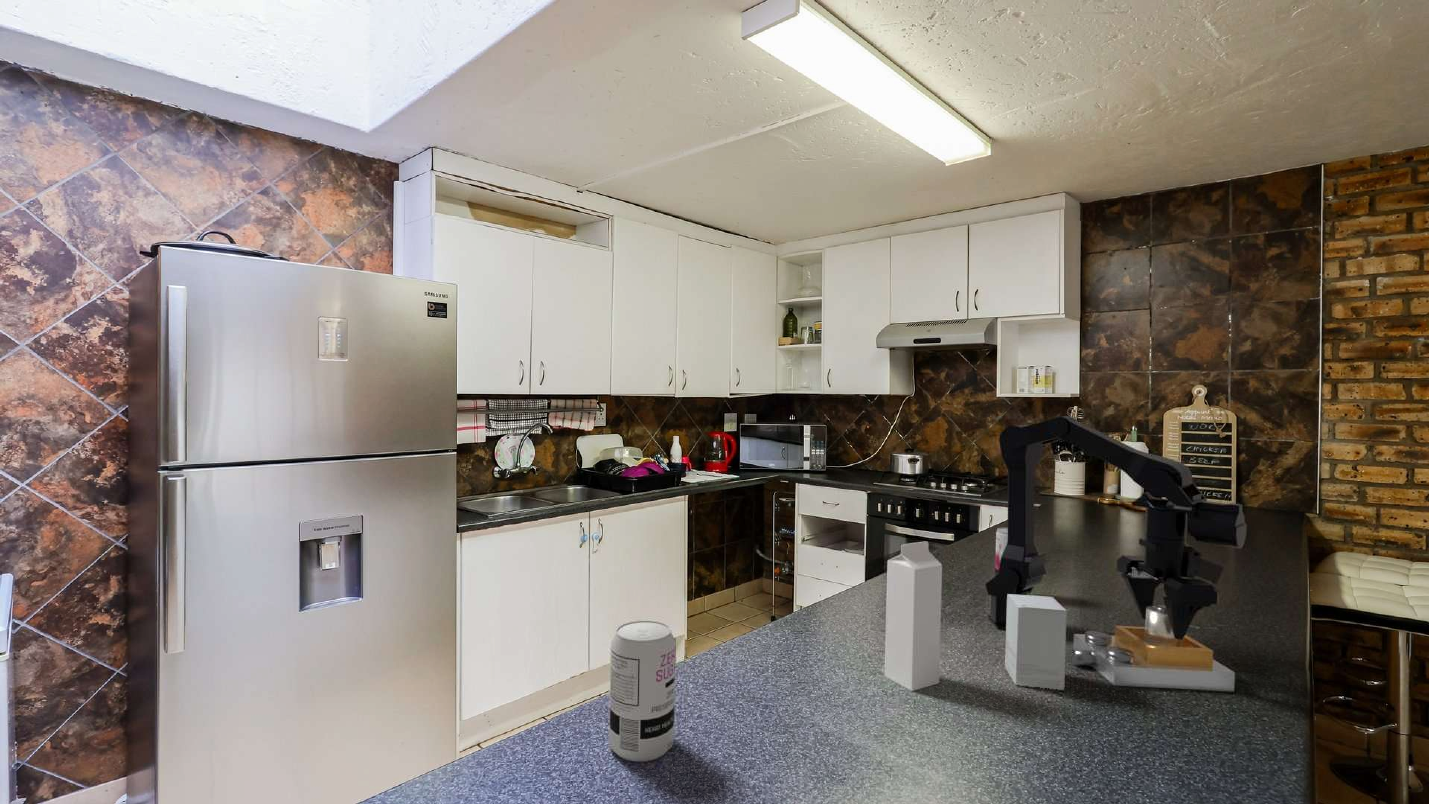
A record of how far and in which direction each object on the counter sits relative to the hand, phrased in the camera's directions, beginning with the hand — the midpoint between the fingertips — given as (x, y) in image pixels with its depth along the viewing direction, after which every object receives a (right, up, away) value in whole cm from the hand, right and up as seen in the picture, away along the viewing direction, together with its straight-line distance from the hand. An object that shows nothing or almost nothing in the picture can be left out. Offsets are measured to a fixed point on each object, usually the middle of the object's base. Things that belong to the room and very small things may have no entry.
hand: (1161, 628), depth 111 cm
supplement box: (-24, -7, -4) cm, 25 cm away
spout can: (+1, -4, 0) cm, 4 cm away
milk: (-44, -7, -6) cm, 45 cm away
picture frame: (-4, -7, 0) cm, 8 cm away
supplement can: (-84, -6, -26) cm, 89 cm away
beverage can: (-8, -6, +39) cm, 40 cm away
